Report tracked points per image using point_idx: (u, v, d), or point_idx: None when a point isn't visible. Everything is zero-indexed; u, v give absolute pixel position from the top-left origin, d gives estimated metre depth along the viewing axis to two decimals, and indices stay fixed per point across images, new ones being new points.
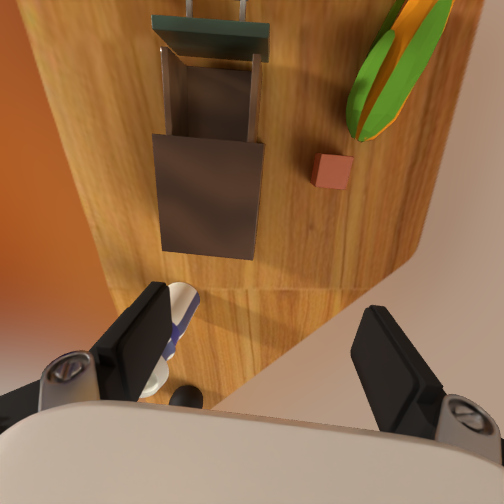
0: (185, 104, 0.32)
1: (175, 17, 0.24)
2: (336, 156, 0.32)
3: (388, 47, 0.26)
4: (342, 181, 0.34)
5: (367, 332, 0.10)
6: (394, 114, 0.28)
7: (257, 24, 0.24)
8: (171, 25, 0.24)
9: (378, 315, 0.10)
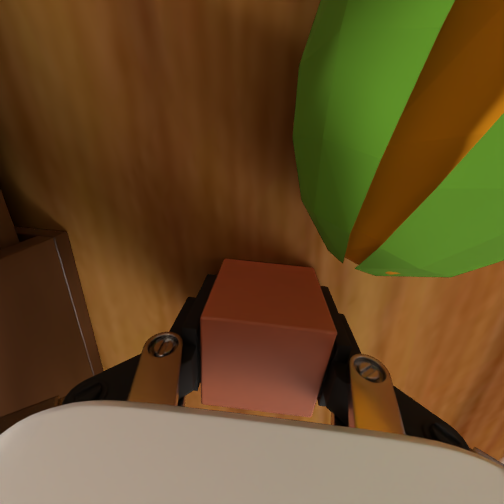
0: None
1: None
2: (264, 328, 0.08)
3: None
4: (295, 398, 0.09)
5: None
6: None
7: None
8: None
9: None
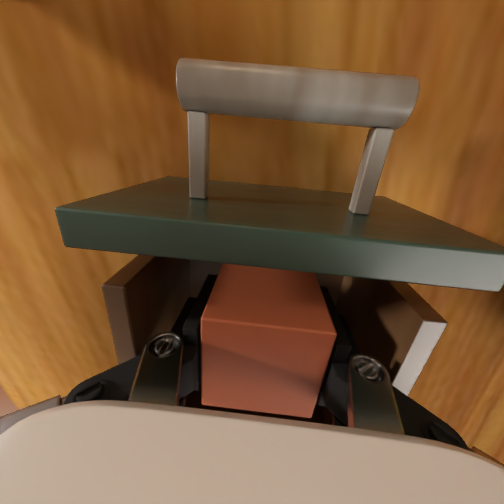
0: (185, 301, 0.14)
1: (147, 220, 0.06)
2: (264, 329, 0.08)
3: None
4: (295, 399, 0.09)
5: None
6: None
7: (471, 255, 0.06)
8: (134, 242, 0.07)
9: None
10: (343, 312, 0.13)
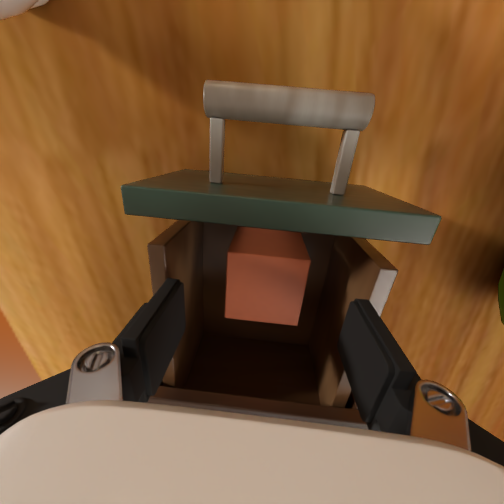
0: (199, 274, 0.17)
1: (185, 193, 0.09)
2: (266, 258, 0.12)
3: None
4: (286, 310, 0.14)
5: (351, 324, 0.10)
6: None
7: (407, 217, 0.09)
8: (175, 210, 0.09)
9: (361, 308, 0.10)
10: (330, 281, 0.16)
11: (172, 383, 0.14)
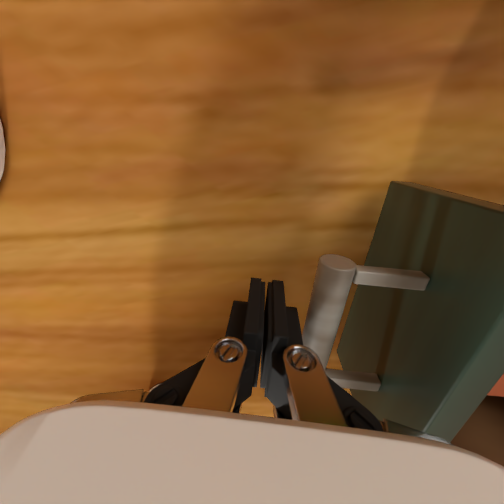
0: None
1: None
2: None
3: None
4: None
5: (266, 303, 0.11)
6: None
7: None
8: None
9: (272, 287, 0.11)
10: None
11: None
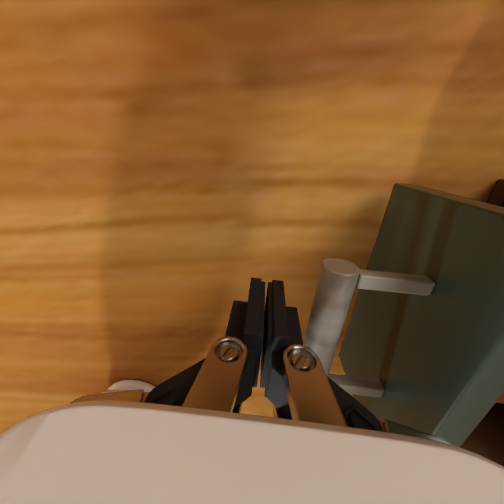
0: None
1: None
2: None
3: None
4: None
5: (266, 303, 0.11)
6: None
7: None
8: None
9: (272, 287, 0.11)
10: None
11: None
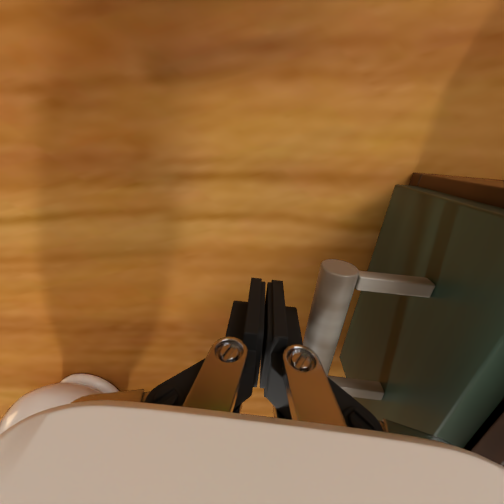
0: None
1: None
2: None
3: None
4: None
5: (266, 303, 0.11)
6: None
7: None
8: None
9: (272, 287, 0.11)
10: None
11: None
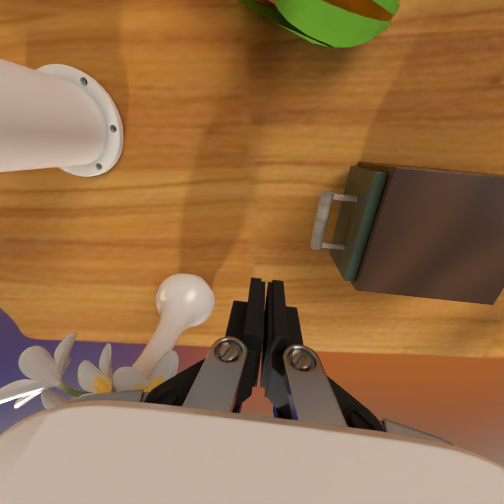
0: None
1: (351, 261, 0.27)
2: None
3: None
4: None
5: (266, 303, 0.11)
6: None
7: (374, 185, 0.23)
8: (356, 265, 0.27)
9: (272, 287, 0.11)
10: None
11: None
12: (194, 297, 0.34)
